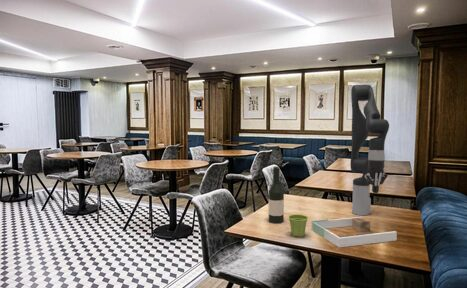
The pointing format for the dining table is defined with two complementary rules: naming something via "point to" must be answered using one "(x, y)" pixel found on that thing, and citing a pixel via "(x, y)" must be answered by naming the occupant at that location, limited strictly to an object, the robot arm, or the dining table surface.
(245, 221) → the dining table surface
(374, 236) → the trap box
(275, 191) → the wine bottle
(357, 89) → the robot arm
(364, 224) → the walnut block
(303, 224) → the plant pot
